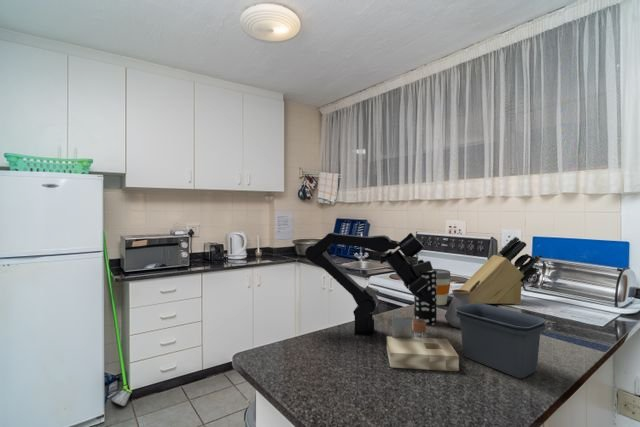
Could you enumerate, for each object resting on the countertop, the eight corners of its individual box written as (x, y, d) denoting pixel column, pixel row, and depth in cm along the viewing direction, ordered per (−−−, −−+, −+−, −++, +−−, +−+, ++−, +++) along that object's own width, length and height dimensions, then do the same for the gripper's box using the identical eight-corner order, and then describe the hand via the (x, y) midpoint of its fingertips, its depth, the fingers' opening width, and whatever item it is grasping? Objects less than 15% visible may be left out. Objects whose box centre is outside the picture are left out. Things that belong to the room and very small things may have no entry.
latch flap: (392, 317, 100) (391, 317, 101) (391, 337, 100) (391, 336, 101) (412, 318, 100) (411, 317, 100) (412, 338, 100) (411, 337, 100)
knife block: (542, 305, 150) (542, 238, 150) (465, 304, 151) (465, 237, 151) (527, 298, 162) (527, 236, 161) (455, 298, 162) (455, 236, 162)
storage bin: (449, 355, 97) (449, 307, 97) (479, 344, 105) (479, 300, 105) (525, 388, 79) (525, 329, 79) (555, 371, 87) (555, 318, 87)
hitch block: (390, 367, 90) (390, 352, 89) (386, 349, 101) (386, 336, 101) (458, 371, 87) (458, 356, 87) (446, 352, 99) (446, 339, 99)
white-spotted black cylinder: (425, 326, 122) (425, 273, 122) (409, 320, 129) (409, 269, 129) (441, 323, 125) (441, 271, 125) (425, 317, 133) (425, 267, 133)
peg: (413, 343, 106) (413, 322, 106) (411, 338, 110) (411, 318, 110) (426, 343, 106) (426, 322, 106) (423, 338, 110) (423, 319, 110)
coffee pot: (468, 333, 115) (468, 290, 115) (438, 324, 124) (438, 285, 124) (495, 320, 128) (495, 282, 128) (466, 313, 137) (466, 278, 137)
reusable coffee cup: (420, 298, 162) (420, 268, 162) (447, 299, 160) (447, 268, 160) (425, 305, 149) (425, 272, 149) (453, 306, 147) (453, 273, 147)
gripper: (423, 251, 103) (458, 291, 100) (415, 251, 121) (444, 285, 118) (395, 273, 103) (429, 314, 100) (392, 270, 122) (420, 304, 119)
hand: (431, 303), depth 109 cm, fingers open, 9 cm apart
